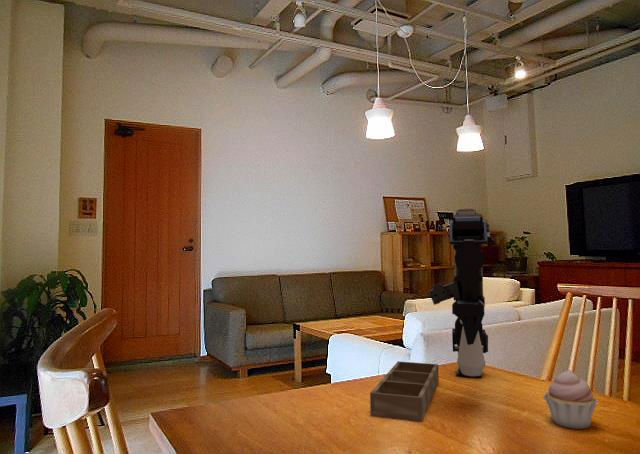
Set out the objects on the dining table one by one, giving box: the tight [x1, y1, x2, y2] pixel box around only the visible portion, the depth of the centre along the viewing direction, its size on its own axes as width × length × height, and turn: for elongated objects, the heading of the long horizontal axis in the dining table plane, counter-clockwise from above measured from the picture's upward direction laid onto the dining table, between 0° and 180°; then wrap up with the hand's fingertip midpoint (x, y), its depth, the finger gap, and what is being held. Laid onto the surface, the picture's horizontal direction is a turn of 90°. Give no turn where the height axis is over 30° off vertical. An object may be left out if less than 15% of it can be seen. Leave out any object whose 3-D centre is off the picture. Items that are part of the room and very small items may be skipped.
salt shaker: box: [456, 320, 486, 376], centre depth 103 cm, size 6×6×13 cm
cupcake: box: [543, 369, 599, 430], centre depth 90 cm, size 9×9×10 cm
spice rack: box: [369, 361, 440, 423], centre depth 107 cm, size 29×10×4 cm, turn 160°
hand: (470, 343), depth 103 cm, fingers closed on salt shaker, 3 cm apart
